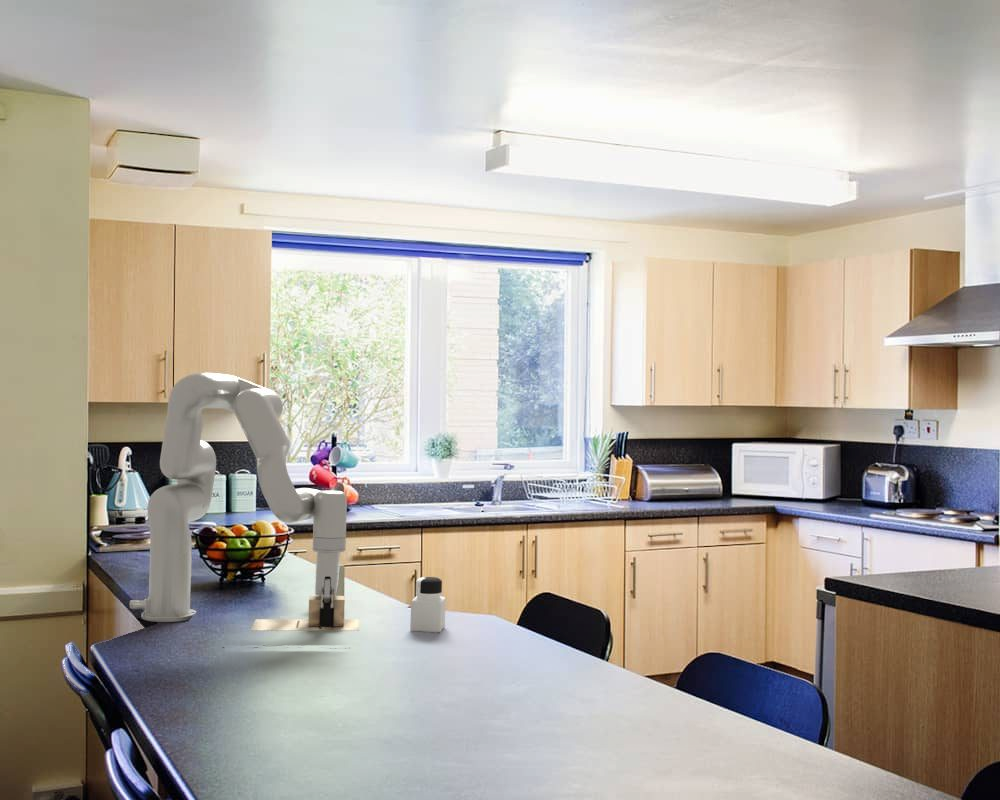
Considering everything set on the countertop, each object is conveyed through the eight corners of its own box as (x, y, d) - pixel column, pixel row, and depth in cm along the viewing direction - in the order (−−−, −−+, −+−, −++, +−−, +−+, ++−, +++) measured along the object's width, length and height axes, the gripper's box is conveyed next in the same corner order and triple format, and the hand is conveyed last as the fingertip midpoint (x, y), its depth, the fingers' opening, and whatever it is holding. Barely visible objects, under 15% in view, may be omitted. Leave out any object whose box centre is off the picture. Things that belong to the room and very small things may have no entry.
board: (250, 635, 234) (250, 630, 234) (255, 624, 246) (255, 619, 246) (359, 635, 238) (359, 630, 238) (358, 624, 250) (359, 619, 250)
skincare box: (344, 614, 261) (346, 565, 262) (329, 615, 259) (330, 566, 259) (331, 609, 266) (333, 561, 266) (316, 611, 263) (317, 563, 264)
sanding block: (308, 626, 240) (309, 599, 240) (309, 621, 245) (309, 595, 245) (343, 626, 241) (344, 599, 241) (344, 621, 246) (344, 595, 246)
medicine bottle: (445, 626, 250) (446, 576, 250) (440, 632, 243) (441, 580, 243) (415, 625, 251) (416, 574, 251) (410, 631, 244) (411, 579, 244)
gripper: (314, 539, 251) (311, 615, 251) (311, 549, 234) (308, 631, 234) (346, 539, 252) (343, 615, 252) (345, 549, 235) (342, 631, 235)
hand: (326, 622), depth 243 cm, fingers closed on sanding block, 5 cm apart
